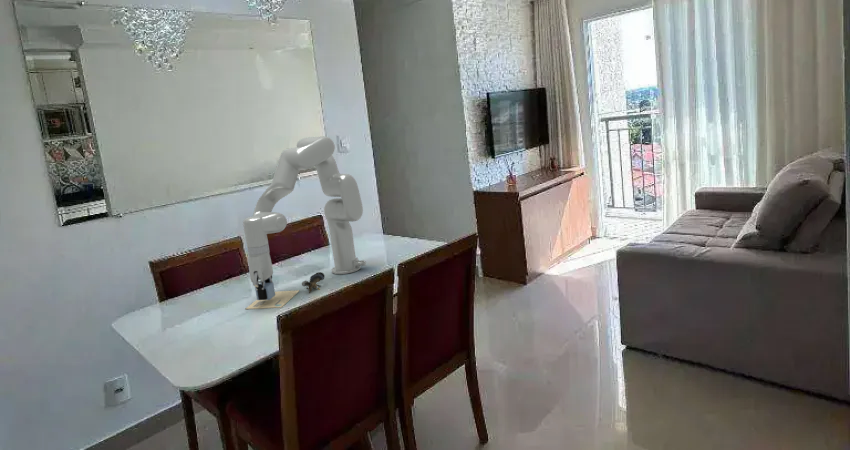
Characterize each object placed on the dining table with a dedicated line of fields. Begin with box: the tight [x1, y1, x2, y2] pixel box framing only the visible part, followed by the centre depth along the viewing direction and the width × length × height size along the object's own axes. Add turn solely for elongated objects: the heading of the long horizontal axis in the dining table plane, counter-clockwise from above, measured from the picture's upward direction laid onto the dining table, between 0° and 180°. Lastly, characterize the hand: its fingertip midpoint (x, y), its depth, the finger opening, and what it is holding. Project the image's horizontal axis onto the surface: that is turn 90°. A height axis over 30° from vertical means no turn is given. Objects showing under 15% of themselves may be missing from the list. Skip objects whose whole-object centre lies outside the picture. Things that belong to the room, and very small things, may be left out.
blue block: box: [254, 282, 276, 300], centre depth 205 cm, size 5×5×5 cm
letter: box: [245, 289, 300, 310], centre depth 208 cm, size 14×18×1 cm
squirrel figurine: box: [301, 271, 326, 294], centre depth 215 cm, size 8×7×9 cm
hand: (266, 296), depth 205 cm, fingers closed on blue block, 5 cm apart
